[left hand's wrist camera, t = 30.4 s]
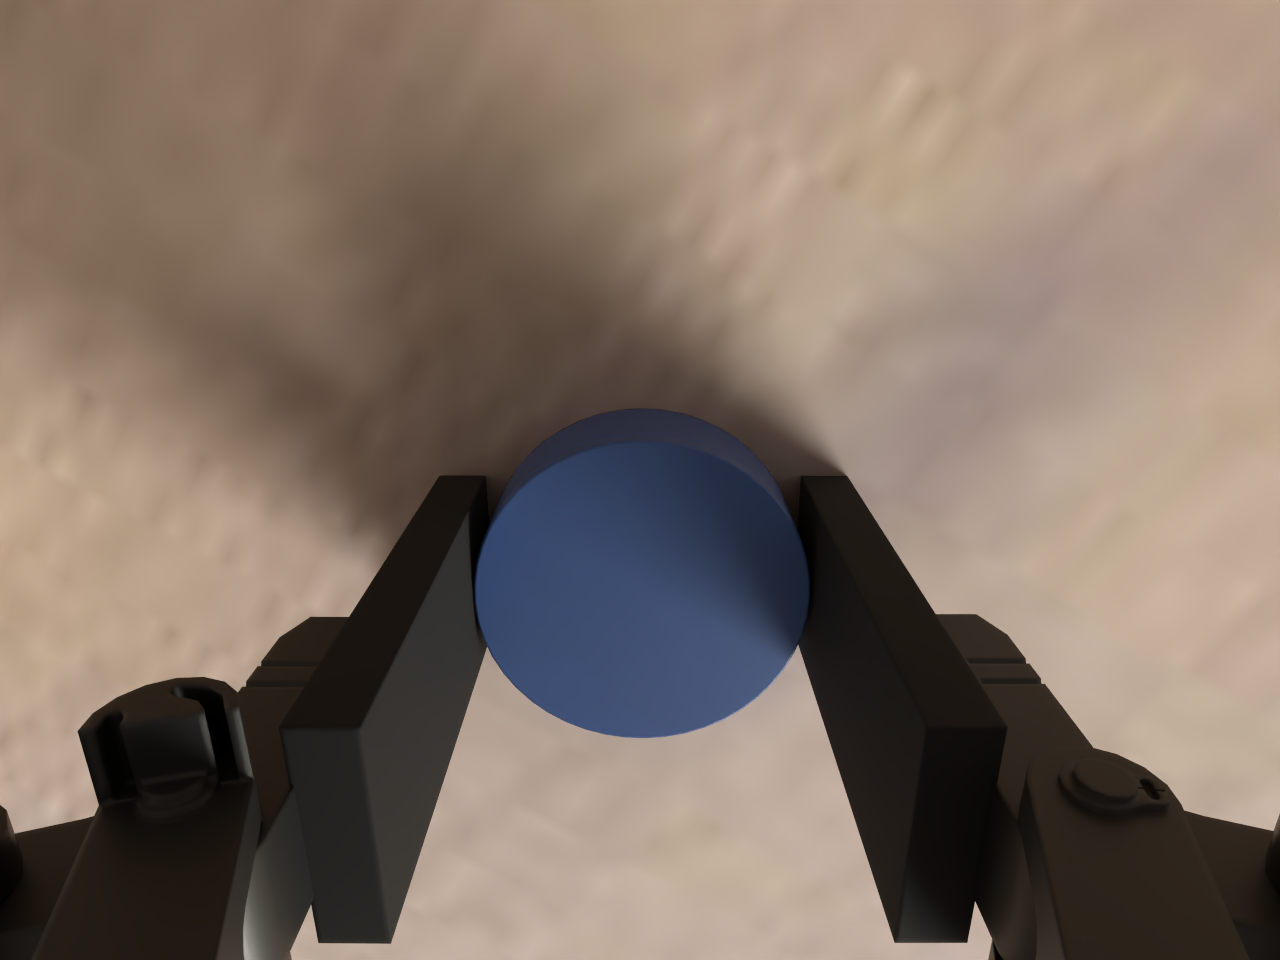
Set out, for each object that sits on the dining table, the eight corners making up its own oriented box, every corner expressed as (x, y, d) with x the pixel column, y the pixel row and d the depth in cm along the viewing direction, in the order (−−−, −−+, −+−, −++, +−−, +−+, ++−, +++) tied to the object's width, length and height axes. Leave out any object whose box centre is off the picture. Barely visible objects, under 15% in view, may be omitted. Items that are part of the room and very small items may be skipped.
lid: (595, 722, 16) (589, 786, 14) (431, 505, 14) (405, 548, 13) (844, 597, 15) (868, 650, 13) (698, 347, 13) (705, 374, 12)
